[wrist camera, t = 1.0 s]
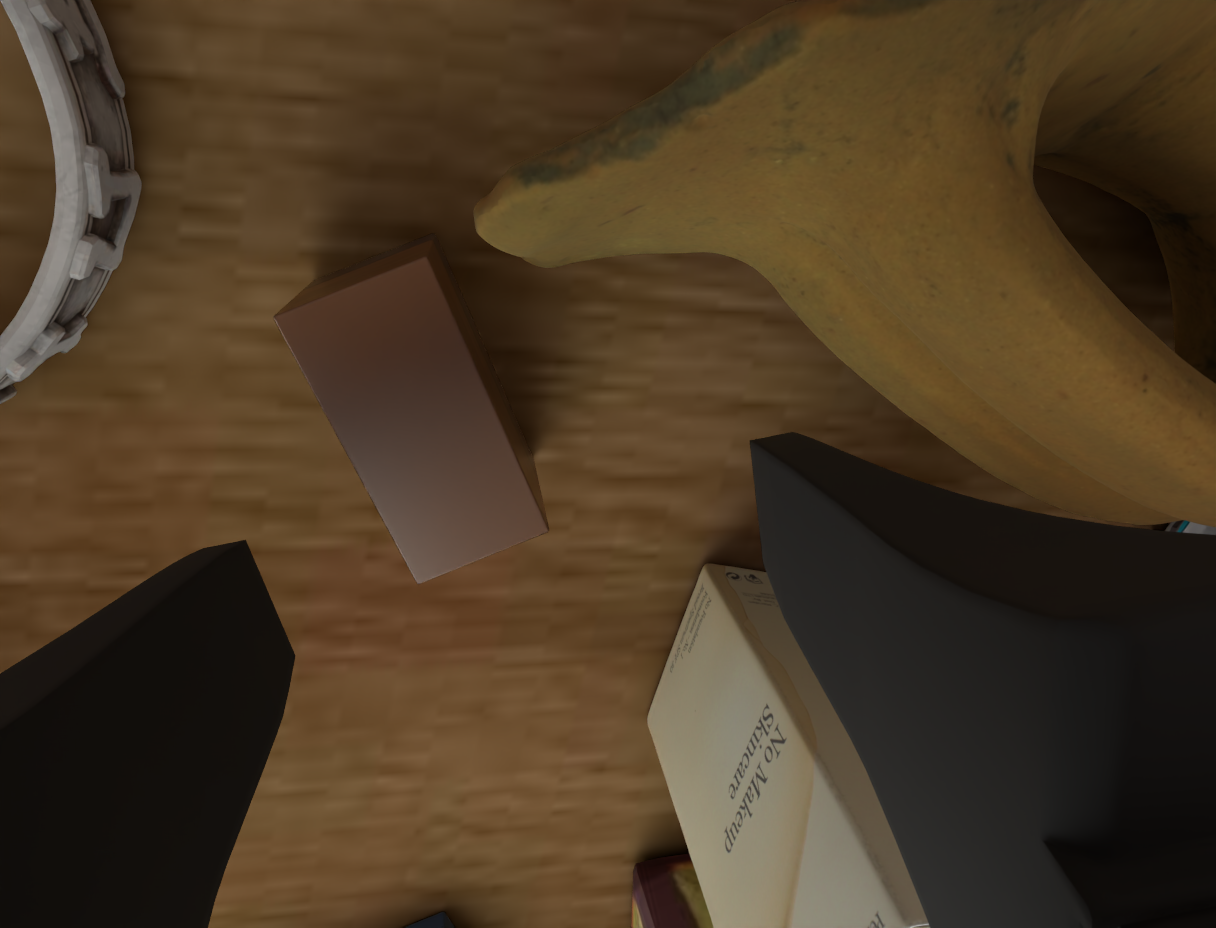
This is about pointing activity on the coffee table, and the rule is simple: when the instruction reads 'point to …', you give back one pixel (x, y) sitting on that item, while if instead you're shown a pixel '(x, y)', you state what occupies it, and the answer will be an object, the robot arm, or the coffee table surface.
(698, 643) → the cosmetic box
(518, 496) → the eraser
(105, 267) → the bracelet
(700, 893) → the decorative box
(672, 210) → the pitcher
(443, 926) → the tray
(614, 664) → the coffee table surface
